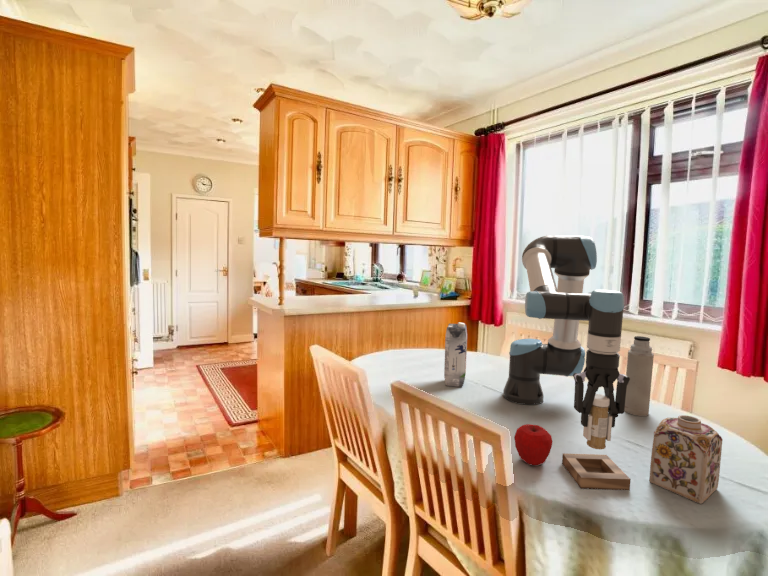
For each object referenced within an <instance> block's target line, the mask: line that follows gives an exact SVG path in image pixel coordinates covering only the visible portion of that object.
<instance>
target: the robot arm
mask: <svg viewBox="0 0 768 576" xmlns="http://www.w3.org/2000/svg"><path fill="white" fill-rule="evenodd" d="M597 255H598V254H597V247H596V243H595V241H594V239H593V238H592V237H590V236H588V235H587V236H585V235H544V236H540V237H537V238H536V239H534V240H532V241H531V242H529V243H528V245H526V247H525V248H524V250H523V252H522V255H521V262H522V265H523V267H524V269H525V270H526V273H527V279H528V285H529V291H528V292H526V294H525V301H524V313H525V316H527V317H529V318H535V319H538V320H541V319H543V320H544V319H545V320H547V319H549V320H553V331H552V336H550V337H548V339H547V344H546V343H543V342H542V340H540V339H537V338H520V339H516V340H514V341H512V342H511V343H510V346H509V347H510V348H509V363H508V365H509V367H508V378H507V380H506V382H505V385H504V387H503V393H502V394H503V395H502V396H503V398H504V399H506V400H507V401H509V402H512V403H516V404H521V405H527V406H528V405H533V406H534V405H539V404H542V403H543V402H544V392H543V388H542V385H541V381H540V380H541V378H540V377H541V375H552V376H559V377H560V376H563V377H566V378H567V377H572V378H573V379H574V398H573V401H574V402H573V408H574V410H575V411H576V412H577V413H579V414H580V415H581V416H580V425H581V426H583V432H582V433H583V434H582V436H583V437H584V438H585V439H586V441H587V440H591V428H592V415H590V410H591V407H592V404H593V401H594V397H595V394H597V392H598V390H599V388H603V390H604V391H603V393H604V396H607V397H608V398H609V399H610V402H609V406H608V422H607V434H606V441H607V442H611V439H612V438H611V437H612V430H613V428H615V427H616V418H618V417H619V414H621V415H623V414H624V413H625V411H624V409H625V399H626V389H627V385H628V383H629V380H630V378H629V377H627V376H626V374H624V373H620V371H619V366H620V359H621V357H620V355H621V354H619V352H620V351H621V342H622V330H623V329H622V328H623V318H624V309H625V301H624V300H625V297H624V293H623V292H621V291H619V290H612V289H611V290H610V289H594V290H592V291H591V292H586V293H584V292H583V291H584V283H585V282H584V281H585V278H587V277H589V276H590V271H591V270H595V269H596V268H597V261H598V258H597V257H598V256H597ZM552 269H554V271H552ZM553 272H554V274H555V275H556V276H557V284H556V280H555V277H554V274H553ZM580 321H584V322H585V321H588V327H587V328H588V330H587V338H586V339H587V341H586V348H587V350H585V348H584V347H583V346H582V343H581V341H580V340H579V339H578V335H579V327H580ZM584 366H585V368H584ZM585 379H587V380H588V381H587V387H586V391H584V388H585V385H584V383H585ZM616 381H617V382H616ZM615 382H616V389H615V388H614V387H615V386H614V383H615ZM614 391H615V394H614ZM584 392H585V394H584Z"/></svg>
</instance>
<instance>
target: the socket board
mask: <svg viewBox="0 0 768 576" xmlns="http://www.w3.org/2000/svg"><path fill="white" fill-rule="evenodd" d="M561 458H562V459H561V464H562V466H563V467H564V468H565V470H566V471H567V473H568V474H569V476H571V479H573V481H574V482H575V483H576V484H577V486H578V488H579V489H580V490H596V491H597V490H602V491H628V492H629V491H631V490H630V489H631V478H630V477H629V476H628V475H627V474H626V473H625V472H624V471H623V470H622V469H621V468H620V467H619V466H618V465H617V464H616V462H614V461H613V459H611V458H610V457H609V456H608V455H607V454H591V453H590V454H589V453H565V452H564V453H562V457H561Z"/></svg>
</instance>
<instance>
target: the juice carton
mask: <svg viewBox="0 0 768 576" xmlns="http://www.w3.org/2000/svg"><path fill="white" fill-rule="evenodd" d="M467 329H468V328H467V324H466V323H465V322H460V321H459V322H457V323H448V325H447V326H446V330H445V339H444V369H443V371H444V376H443V377H444V382H445V386H447V387H457V388H463V387H464V383H465V380H466V374H467V373H466V372H467V350H468V349H467V348H468V330H467Z"/></svg>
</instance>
